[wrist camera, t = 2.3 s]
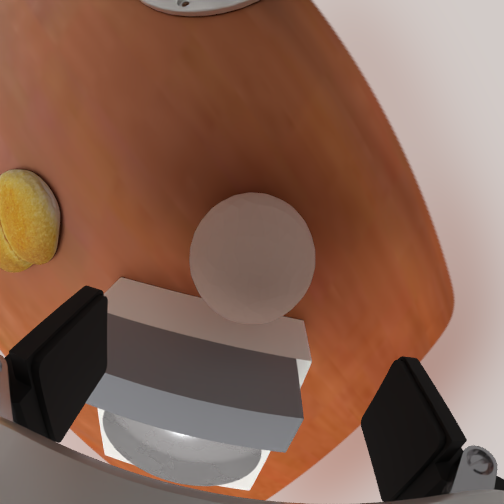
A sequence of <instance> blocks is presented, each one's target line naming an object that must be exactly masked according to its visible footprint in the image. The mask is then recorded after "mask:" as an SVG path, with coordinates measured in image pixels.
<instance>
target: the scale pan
mask: <svg viewBox="0 0 504 504" xmlns="http://www.w3.org/2000/svg"><path fill="white" fill-rule="evenodd" d="M103 427H104V431H105V433H106V436H107V438H108V439H109V441H110V443H111V444H112V445H113V446H114V448H115V449H116V450H117V451H118V452H119V453H120V454H121V455H122V456H123V457H124V458H126V459H127V460H128V461H129V462H131V463H132V464H134V465H135V466H137V467H138V468H140V469H142V470H144V471H146V472H148V473H150V474H152V475H154V476H156V477H159V478H162V479H165V480H168V481H172V482H175V483H180V484H186V485H194V486H215V485H222V484H227V483H231V482H234V481H237V480H240V479H242V478H244V477H245V476H247V475H248V474H250V473H251V472H252V471H253V470H254V469H255V468H256V467H257V465H258V464H259V461H260V459H261V449H255V448H248V447H242V446H236V445H230V444H225V443H220V442H215V441H210V440H205V439H201V438H196V437H192V436H188V435H184V434H180V433H176V432H172V431H168V430H165V429H161V428H157V427H154V426H150V425H147V424H144V423H141V422H137V421H134V420H131V419H128V418H125V417H122V416H119V415H116V414H113V413H110V412H108V411H104V414H103Z"/></svg>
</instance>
